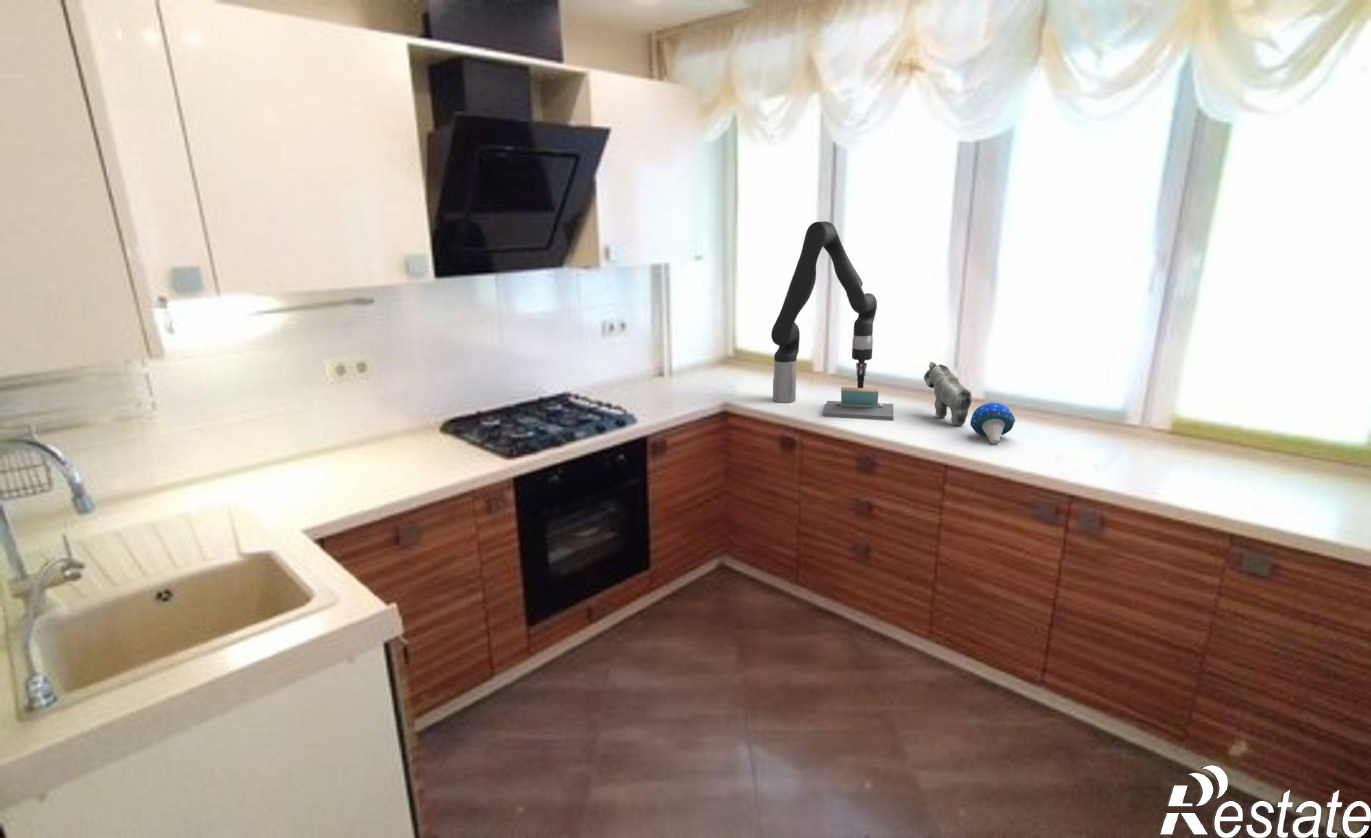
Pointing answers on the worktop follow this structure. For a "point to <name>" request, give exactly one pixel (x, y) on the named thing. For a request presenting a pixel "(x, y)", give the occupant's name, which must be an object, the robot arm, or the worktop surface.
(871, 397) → the tile
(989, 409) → the mushroom
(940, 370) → the grey animal figure
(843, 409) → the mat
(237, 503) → the worktop surface
